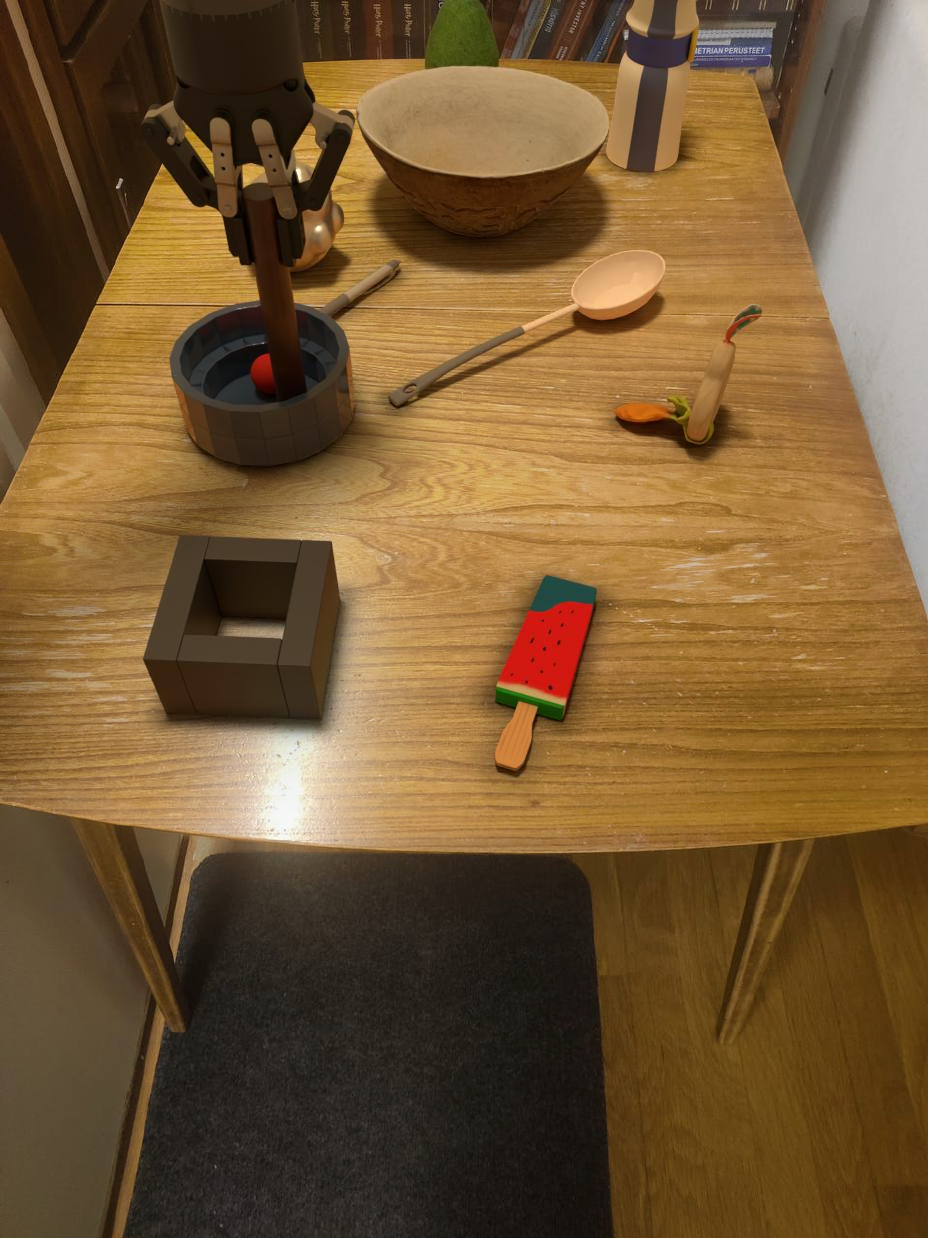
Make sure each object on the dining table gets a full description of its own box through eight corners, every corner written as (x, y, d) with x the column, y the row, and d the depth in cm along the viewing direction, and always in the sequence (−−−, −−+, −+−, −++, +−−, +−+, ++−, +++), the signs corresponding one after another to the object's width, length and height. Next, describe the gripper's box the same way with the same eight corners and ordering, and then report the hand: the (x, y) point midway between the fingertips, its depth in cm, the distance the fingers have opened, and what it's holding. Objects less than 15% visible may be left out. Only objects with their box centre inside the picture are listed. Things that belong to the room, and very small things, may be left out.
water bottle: (682, 136, 110) (732, -140, 90) (680, 175, 105) (733, -108, 85) (607, 129, 111) (640, -145, 91) (602, 169, 106) (636, -114, 86)
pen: (404, 270, 94) (403, 257, 93) (302, 343, 87) (300, 330, 86) (395, 267, 94) (395, 253, 93) (293, 339, 88) (291, 325, 87)
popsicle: (470, 750, 61) (539, 572, 70) (470, 762, 62) (538, 585, 71) (542, 771, 60) (603, 588, 69) (541, 783, 61) (601, 602, 70)
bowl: (489, 126, 111) (491, 28, 103) (648, 215, 100) (664, 114, 92) (316, 199, 102) (305, 99, 94) (471, 307, 91) (473, 203, 83)
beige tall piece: (659, 376, 85) (684, 254, 76) (743, 418, 82) (779, 296, 73) (608, 420, 81) (627, 298, 72) (694, 466, 78) (725, 345, 69)
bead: (244, 376, 79) (249, 345, 81) (253, 402, 82) (258, 372, 84) (284, 375, 79) (288, 344, 81) (292, 401, 82) (295, 371, 83)
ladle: (680, 300, 90) (684, 257, 86) (419, 456, 84) (410, 417, 80) (637, 265, 93) (638, 222, 89) (381, 414, 87) (370, 374, 83)
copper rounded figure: (277, 305, 91) (260, 201, 83) (231, 255, 95) (211, 152, 87) (363, 274, 94) (355, 170, 86) (315, 227, 98) (303, 125, 91)
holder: (165, 713, 64) (142, 659, 59) (198, 592, 70) (179, 534, 65) (321, 720, 64) (310, 666, 59) (340, 598, 70) (332, 540, 65)
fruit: (466, 84, 117) (467, -32, 108) (511, 109, 114) (516, -8, 104) (412, 104, 114) (408, -13, 105) (456, 131, 110) (456, 12, 101)
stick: (276, 415, 79) (237, 200, 65) (281, 395, 80) (244, 181, 66) (306, 416, 79) (274, 201, 65) (311, 396, 80) (280, 182, 66)
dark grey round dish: (169, 468, 78) (151, 408, 73) (205, 357, 86) (190, 297, 81) (344, 474, 77) (337, 414, 73) (363, 363, 86) (357, 302, 81)
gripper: (82, 5, 54) (158, 288, 67) (341, 12, 53) (364, 295, 67) (118, -49, 58) (182, 226, 72) (357, -43, 58) (375, 233, 71)
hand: (270, 258), depth 69 cm, fingers closed on stick, 2 cm apart
